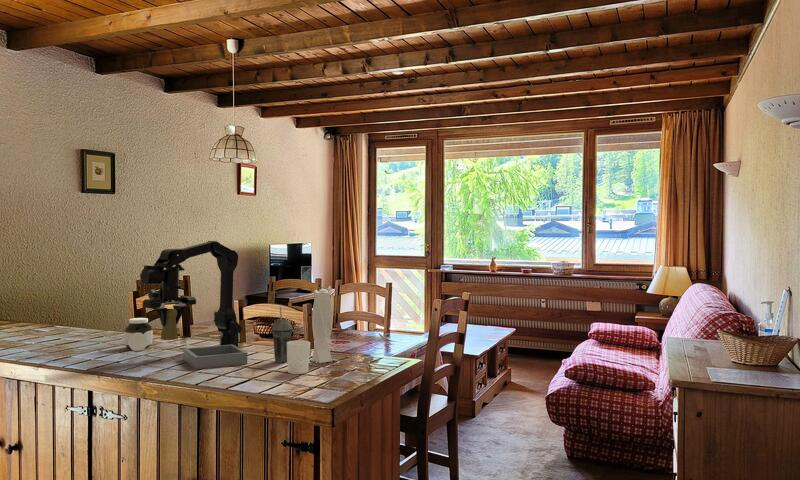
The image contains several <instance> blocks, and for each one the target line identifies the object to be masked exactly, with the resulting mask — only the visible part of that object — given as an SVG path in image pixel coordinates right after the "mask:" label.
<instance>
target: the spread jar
mask: <svg viewBox="0 0 800 480" xmlns="http://www.w3.org/2000/svg"><path fill="white" fill-rule="evenodd" d="M128 321H129V323H128V324H127V325H126V327H124V331H123V344H124V346H125V347H126V348H127V349H128V350H132V351H134V352H141V351H144V348H145V349H147V348H149V347H150V346H151V345H152V343H153V333H154V332H153V327H152V326H151V325H150V324H149V323H148V322H149V318H148V317H133V318H129V320H128Z"/></svg>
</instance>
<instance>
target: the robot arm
mask: <svg viewBox="0 0 800 480" xmlns="http://www.w3.org/2000/svg"><path fill="white" fill-rule="evenodd" d="M208 253H210V254H211V256H213V258H215V259H216V263H217V267H218V269H219V272H220V287H219V288H220V289H219V291H220V295H219V296H220V297H219V308H218V310H217V311H214V312H213V314H214V317H213V322H214V324H215V325H214V326H215V327H216V328H217V331H218V333H220V336H219V345H218V346H221V345H235V346H237V347H238V348H240V346H239V334H241V333H242V330H243V326H241V325H240V323H238V319H237V313H236V312H235V310H234V305H233V303H234V301H233V300H234V273H235V271H236V268H237V266H238V262H239V253H238V252H237V251H235V250H232V249H230V247H227V246H225V245H224V244H222V243H220V242H219V241H218V240H208V241H206V242H202V243H198V244H195V245H191V246H186V247H183V248H165V249H163V250H162V251H160V254H159V257H158V258H157V260H156V261H155V263H154V264H153V265H145V264H144V265H143V269H142V270H141V273H140V275H139V276H140V277H139V278H140V279H139V280H140V282H141V284H143V285H147V286H148V285H159V284H161V285H160V286H159V290H156V289H149V290H148V298H147V299H144V300H143V301H142V303H141V305H142V308H144V309H145V308H146V309H151V310H154V311H155V312H156V314H157V315H158V318H159V321H160V324H161V325H162V327H163V326H165V324H166V316H167V309H168V307H166V306H169V305H172V307H173V308H172V309H176V310H177V317H176V324H177V325H178V324H179V321H180V319H181V318H182V315H183V314H184V312H185V310H186V309H187V308H189V306H192V305H194V306H195V305H197V299H196V297H195V296H190V295H189V296H188V295H185V296H179V295H180V293H179V290H181V287H182V286H181V285H179V283H180V281H179V280H180V272H183V271H185V268H184V267H183V266H181V263H184V262H186V260H189V259H190V258H192V257H193V258H194V257H197V256H200V255H204V254H208ZM187 304H188V305H187ZM240 349H241V348H240Z"/></svg>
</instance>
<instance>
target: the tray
mask: <svg viewBox="0 0 800 480" xmlns="http://www.w3.org/2000/svg"><path fill="white" fill-rule="evenodd" d="M183 361H185V362H186V363H187V364H188V365H189V366H190V367H192V368H193V369H194V370H200V369H212V368H219V367H229V366H240V365H248V351H245V350H243V349H242V348H238V347H237V346H235V345H221V346H219V345H211V346H210V345H208V346H196V347H188V348H187V347H185V348H183Z"/></svg>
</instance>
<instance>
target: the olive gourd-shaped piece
mask: <svg viewBox="0 0 800 480" xmlns="http://www.w3.org/2000/svg"><path fill="white" fill-rule="evenodd" d="M176 317H177V310H176V309H174V308H167V316H166V324H165V326H162V328H161V335H160V340H162V341H174V340H178V339H179V334H178V333H179V332H178V326H177V325H178V324H176Z"/></svg>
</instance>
